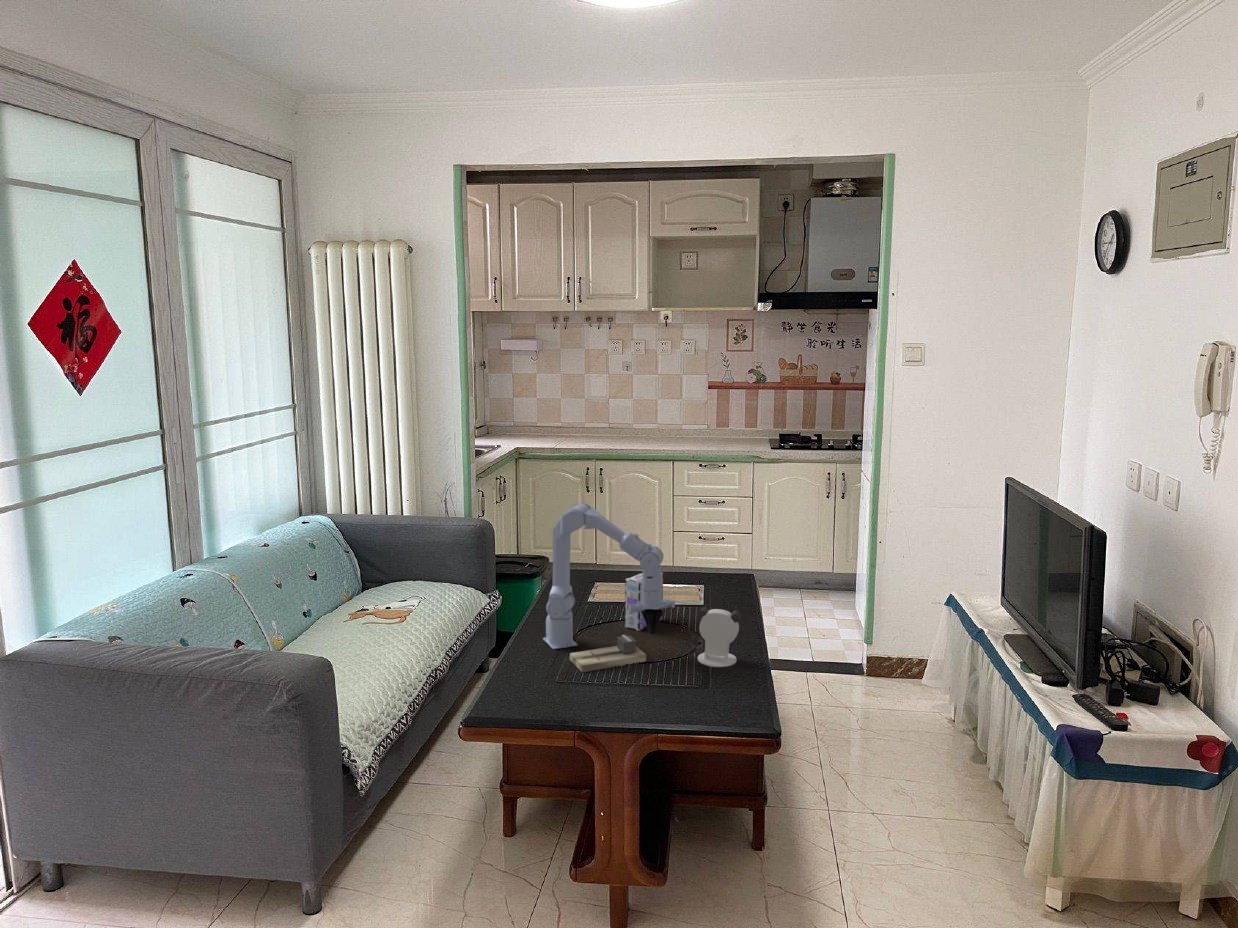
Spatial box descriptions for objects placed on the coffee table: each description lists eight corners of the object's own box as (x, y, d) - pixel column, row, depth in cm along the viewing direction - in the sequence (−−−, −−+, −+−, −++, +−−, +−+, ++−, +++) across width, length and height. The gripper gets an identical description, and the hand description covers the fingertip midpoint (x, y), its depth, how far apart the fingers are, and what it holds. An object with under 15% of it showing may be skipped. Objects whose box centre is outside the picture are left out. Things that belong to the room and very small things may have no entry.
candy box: (638, 631, 280) (639, 581, 277) (624, 627, 283) (624, 578, 281) (663, 619, 291) (663, 571, 288) (648, 616, 294) (649, 568, 291)
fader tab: (617, 647, 260) (617, 635, 259) (629, 645, 261) (629, 633, 261) (623, 653, 255) (624, 641, 254) (636, 651, 257) (636, 639, 256)
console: (569, 659, 257) (569, 652, 256) (631, 649, 265) (631, 642, 264) (582, 672, 248) (582, 665, 247) (646, 661, 256) (646, 654, 255)
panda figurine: (741, 654, 261) (742, 606, 259) (735, 669, 250) (737, 618, 248) (701, 650, 264) (702, 602, 262) (694, 664, 253) (695, 614, 251)
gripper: (635, 595, 252) (635, 640, 254) (680, 589, 258) (679, 633, 260) (625, 588, 258) (625, 632, 261) (669, 582, 264) (668, 626, 266)
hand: (651, 632), depth 261 cm, fingers closed
